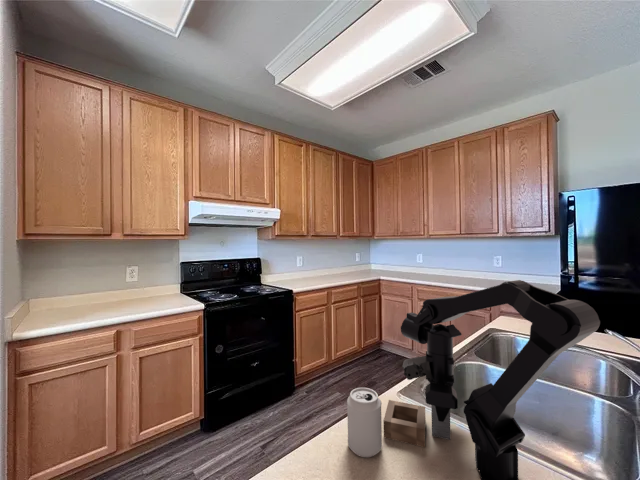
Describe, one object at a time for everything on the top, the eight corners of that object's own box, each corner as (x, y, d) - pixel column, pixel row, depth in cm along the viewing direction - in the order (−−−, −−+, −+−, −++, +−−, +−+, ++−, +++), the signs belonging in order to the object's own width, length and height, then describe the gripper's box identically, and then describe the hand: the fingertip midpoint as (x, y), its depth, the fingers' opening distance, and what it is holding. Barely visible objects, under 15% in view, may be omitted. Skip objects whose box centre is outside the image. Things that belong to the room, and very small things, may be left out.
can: (382, 462, 59) (381, 405, 59) (346, 457, 61) (345, 401, 60) (381, 437, 66) (380, 386, 66) (349, 433, 68) (348, 383, 68)
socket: (425, 422, 71) (425, 406, 71) (424, 447, 63) (424, 429, 63) (389, 414, 75) (388, 399, 75) (383, 437, 66) (383, 420, 66)
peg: (449, 428, 69) (449, 388, 69) (450, 440, 65) (449, 396, 65) (431, 425, 70) (431, 385, 70) (431, 435, 67) (431, 393, 67)
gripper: (407, 334, 79) (408, 389, 79) (400, 361, 62) (401, 432, 62) (451, 338, 75) (452, 397, 75) (457, 369, 58) (458, 445, 58)
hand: (440, 415), depth 68 cm, fingers closed on peg, 4 cm apart
